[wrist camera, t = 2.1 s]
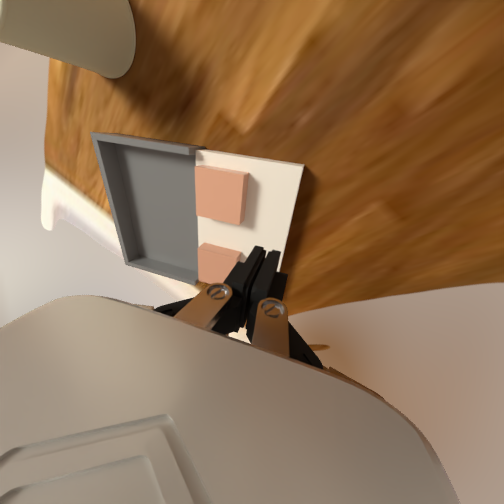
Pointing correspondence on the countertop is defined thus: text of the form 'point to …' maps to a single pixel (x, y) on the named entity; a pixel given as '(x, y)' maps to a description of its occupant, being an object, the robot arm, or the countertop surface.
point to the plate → (254, 204)
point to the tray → (152, 202)
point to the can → (73, 32)
